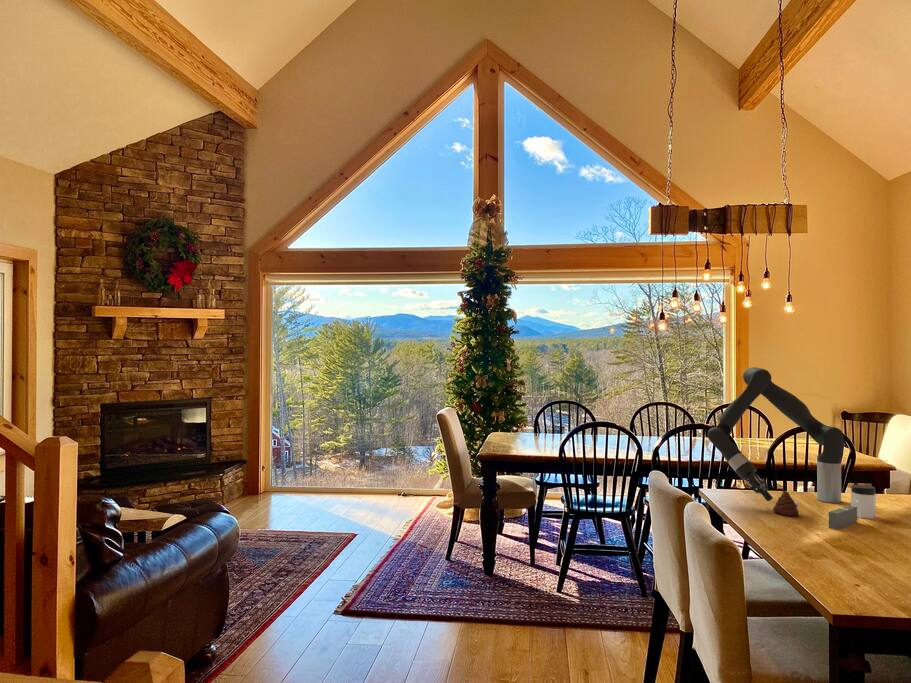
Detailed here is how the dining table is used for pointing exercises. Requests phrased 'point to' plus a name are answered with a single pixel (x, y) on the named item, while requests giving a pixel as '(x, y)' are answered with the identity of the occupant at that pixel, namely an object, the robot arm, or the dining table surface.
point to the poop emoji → (786, 506)
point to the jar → (864, 500)
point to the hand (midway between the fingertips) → (770, 499)
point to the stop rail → (842, 517)
